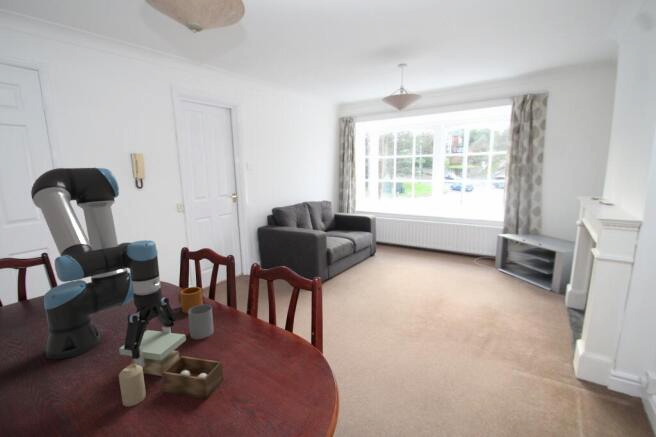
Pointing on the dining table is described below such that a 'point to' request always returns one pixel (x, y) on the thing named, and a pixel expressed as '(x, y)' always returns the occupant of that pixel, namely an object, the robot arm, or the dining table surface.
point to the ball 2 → (202, 375)
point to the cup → (200, 321)
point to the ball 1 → (186, 373)
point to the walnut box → (193, 377)
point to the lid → (157, 344)
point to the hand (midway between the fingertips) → (155, 354)
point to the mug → (190, 298)
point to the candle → (132, 385)
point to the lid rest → (158, 363)
